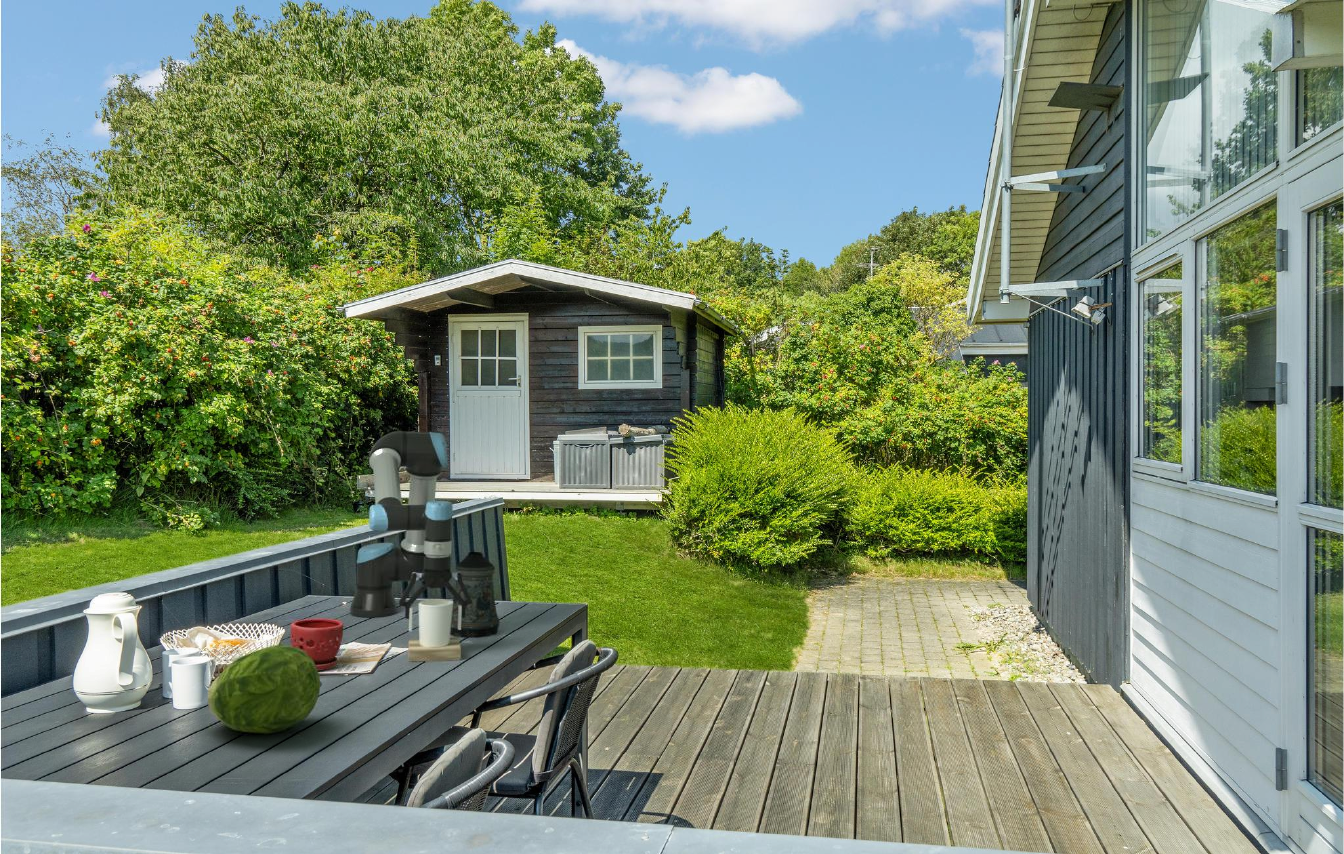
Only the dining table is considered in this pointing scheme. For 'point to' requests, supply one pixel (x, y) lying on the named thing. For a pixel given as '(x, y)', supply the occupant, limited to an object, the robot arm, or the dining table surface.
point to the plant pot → (318, 640)
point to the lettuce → (266, 690)
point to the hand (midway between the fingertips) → (434, 629)
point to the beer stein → (476, 598)
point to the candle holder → (435, 622)
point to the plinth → (434, 651)
